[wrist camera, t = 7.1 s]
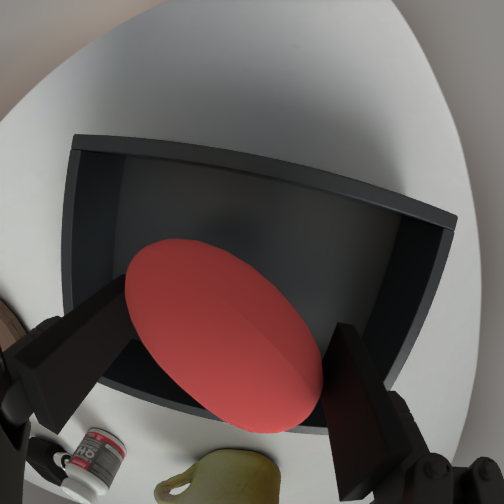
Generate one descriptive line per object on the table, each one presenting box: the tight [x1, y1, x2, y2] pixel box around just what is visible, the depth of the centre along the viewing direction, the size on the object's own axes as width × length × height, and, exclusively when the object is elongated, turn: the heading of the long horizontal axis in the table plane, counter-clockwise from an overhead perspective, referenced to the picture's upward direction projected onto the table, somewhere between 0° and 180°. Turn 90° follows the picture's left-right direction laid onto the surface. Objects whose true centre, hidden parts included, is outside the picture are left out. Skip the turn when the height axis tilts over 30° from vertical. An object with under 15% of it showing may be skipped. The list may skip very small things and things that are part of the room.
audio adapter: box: [26, 437, 72, 487], centre depth 26 cm, size 11×5×25 cm
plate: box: [0, 300, 27, 352], centre depth 21 cm, size 14×14×2 cm
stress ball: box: [125, 239, 324, 433], centre depth 10 cm, size 5×9×6 cm
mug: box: [154, 449, 281, 504], centre depth 20 cm, size 12×10×10 cm
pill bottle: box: [61, 429, 126, 504], centre depth 20 cm, size 5×5×10 cm
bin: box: [61, 134, 458, 435], centre depth 16 cm, size 15×20×6 cm
